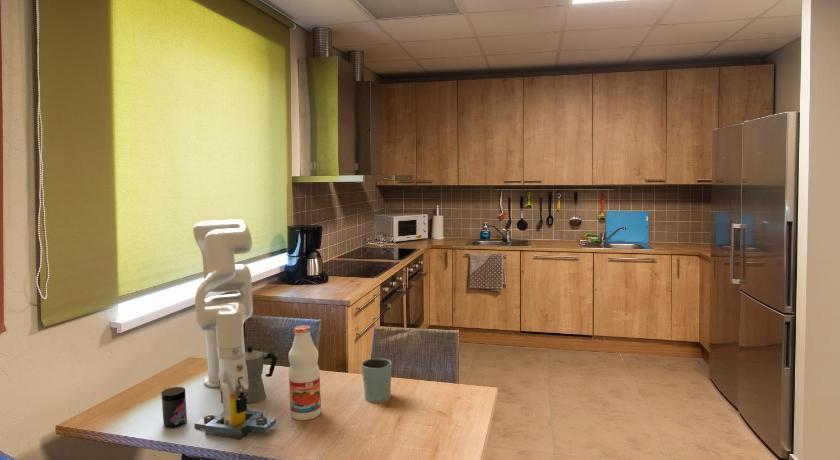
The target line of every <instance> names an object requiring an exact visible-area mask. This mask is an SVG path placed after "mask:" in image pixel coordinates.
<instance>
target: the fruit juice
mask: <svg viewBox="0 0 840 460" xmlns="http://www.w3.org/2000/svg"><path fill="white" fill-rule="evenodd" d="M293 331H294V334H295V336H294V338H293V342H292V346H291V348H290V350H289V352H288V362H289V365H290V366H289V369H288V387H289V388H288V389H289V390H288V391H289V407H290V408H289V409H290V410H289V411H290V416H291V418H292V419H294V420H297V421H310V420H312V419H313V420H314V419H316V418H317V417H319V416H320V415H321V414H322V413H321V412H322V407H321V406H322V403H321V401H322V399H321V398H322V397H321V379H320V377H321V372H320V366H319V365H318V360H319V351H318V348H317V347H316V345H315V343H314V341H313V339H312V336H311V326H310V325H306V324H305V325H297V326H295V327H294V329H293Z"/></svg>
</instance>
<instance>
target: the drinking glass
mask: <svg viewBox="0 0 840 460" xmlns="http://www.w3.org/2000/svg"><path fill="white" fill-rule="evenodd" d="M392 363H393V362H392V361H391V360H390V359H388V358H382V357H378V358H369V359H366V360H363V361H362V362H361V371H362V372H361V374H362V380H363V381H362V382H363V390H364V399H365V401H367V402H368V403H369V402H370V403H374V404H377V403H378V404H379V403H380V404H381V403H385V402H387V401H389V400H390V399H391V396H392V395H391V391H392V390H391V386H392V385H391V383H392V382H391V381H392V365H393V364H392Z"/></svg>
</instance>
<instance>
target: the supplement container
mask: <svg viewBox="0 0 840 460" xmlns="http://www.w3.org/2000/svg"><path fill="white" fill-rule="evenodd" d="M160 393H161V394H160V395H161V408H162V423H163V426H164V427H165V428H167V429H177V428H180V427H183V426H184V425H186V423H187V422H188V413H187V398H186V395H187V394H186V388H185V387H181V386H174V387H169V388H165V389H164V390H162V391H161V392H160Z"/></svg>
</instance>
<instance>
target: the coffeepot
mask: <svg viewBox="0 0 840 460" xmlns="http://www.w3.org/2000/svg"><path fill="white" fill-rule="evenodd" d="M246 348H247V351H245V355H244V357H245V361H246V366H247V373H248V383H249V387H248V388H249V389H248V395H247V396H248V397H247V405H249V404H250V405H252V404H257V403H260V402H262V401H264V400H265V399H266V398H267V393H266V390H265V386H264V382H263V378H262V377H263V376H262V374H263V372H264V361H265V360H267V359H271V361H270V367H269V369H268V370H269V373H265V378H269V377H270V378H271V377H272V376H273V374H274V371H275V367H276V366H277V365H276V364H277V361H278V356H276V355H275V354H274V353H273V352H263V351H258V350H253V346H251V345H250V346H247V347H246Z"/></svg>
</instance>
